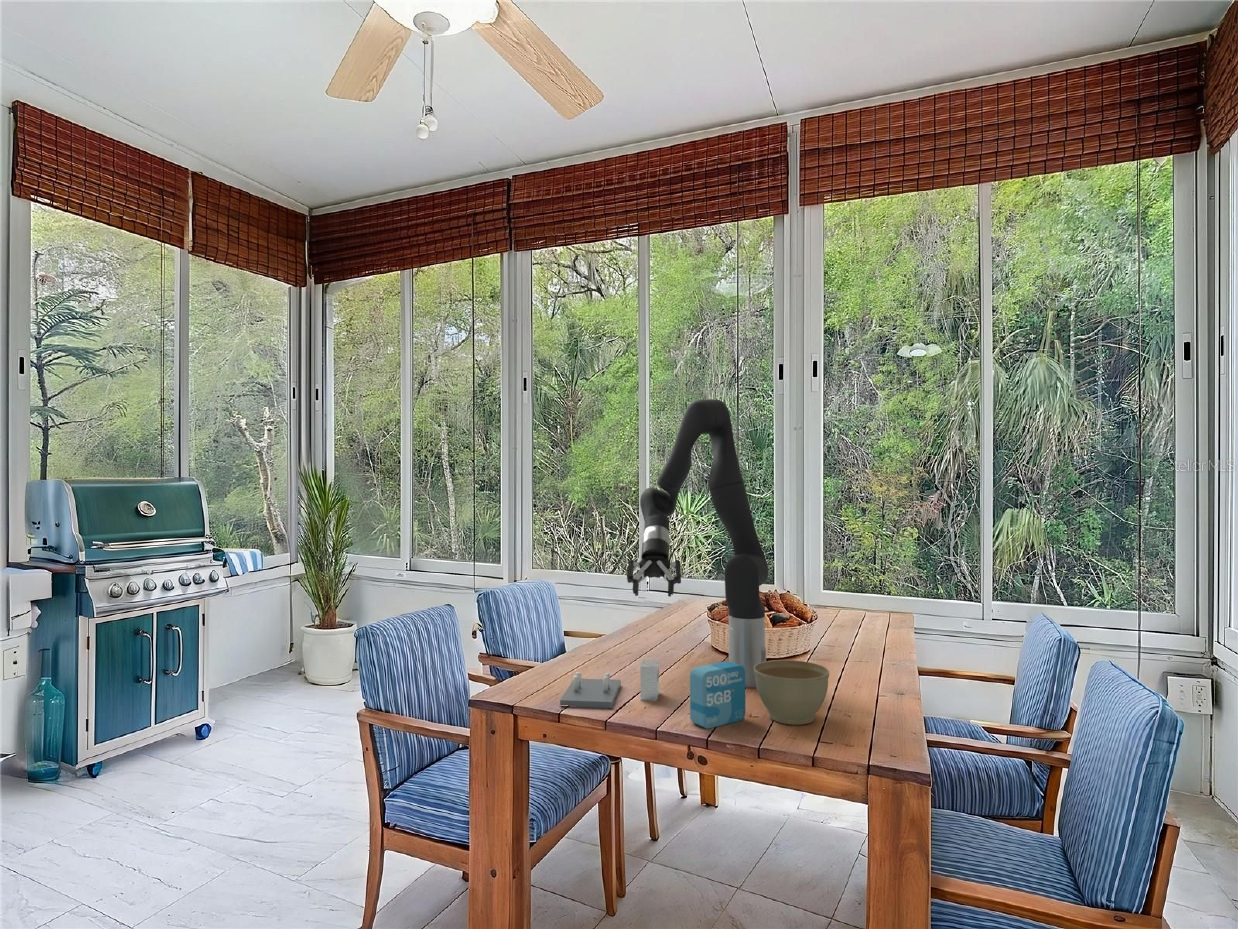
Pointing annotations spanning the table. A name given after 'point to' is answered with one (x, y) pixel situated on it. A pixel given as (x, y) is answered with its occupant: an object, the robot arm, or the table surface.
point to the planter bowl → (791, 689)
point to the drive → (649, 680)
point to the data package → (717, 694)
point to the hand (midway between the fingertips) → (652, 594)
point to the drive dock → (591, 692)
